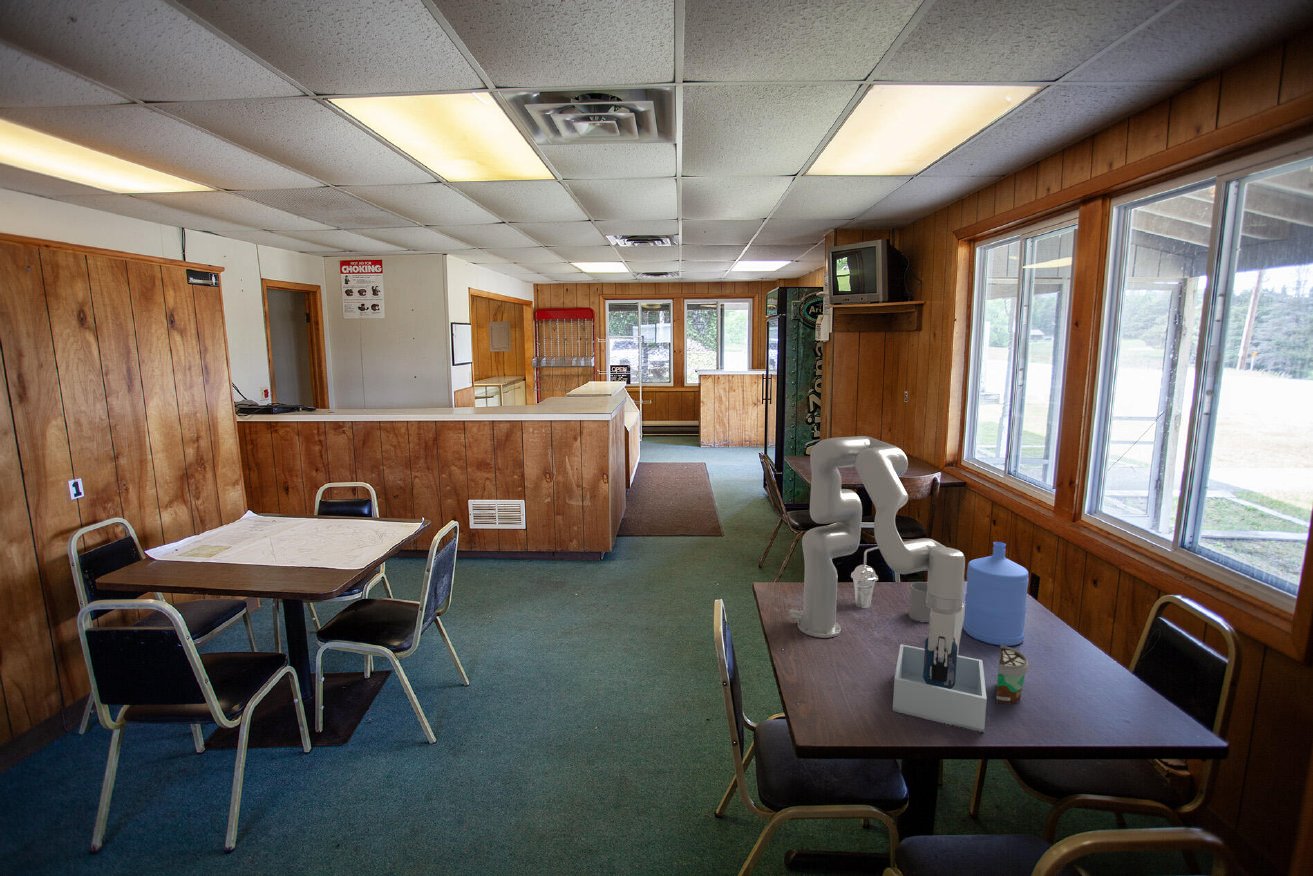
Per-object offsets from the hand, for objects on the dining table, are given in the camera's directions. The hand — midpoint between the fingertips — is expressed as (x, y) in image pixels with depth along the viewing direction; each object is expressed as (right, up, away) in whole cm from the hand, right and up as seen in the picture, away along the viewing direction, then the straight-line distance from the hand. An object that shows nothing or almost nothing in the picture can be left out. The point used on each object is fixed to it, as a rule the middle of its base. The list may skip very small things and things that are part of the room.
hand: (939, 671), depth 140 cm
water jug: (+32, -3, +35) cm, 48 cm away
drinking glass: (+13, -4, +23) cm, 27 cm away
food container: (+19, -7, +3) cm, 20 cm away
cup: (+17, -1, +47) cm, 50 cm away
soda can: (0, -3, +1) cm, 3 cm away
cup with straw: (+2, 0, +56) cm, 56 cm away
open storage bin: (0, -7, +1) cm, 7 cm away
